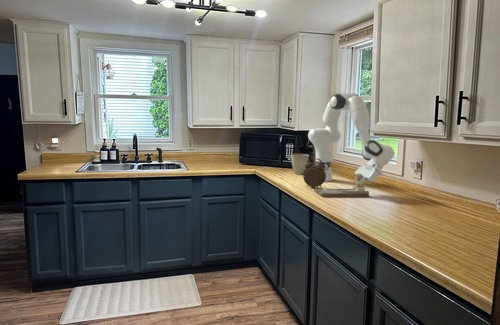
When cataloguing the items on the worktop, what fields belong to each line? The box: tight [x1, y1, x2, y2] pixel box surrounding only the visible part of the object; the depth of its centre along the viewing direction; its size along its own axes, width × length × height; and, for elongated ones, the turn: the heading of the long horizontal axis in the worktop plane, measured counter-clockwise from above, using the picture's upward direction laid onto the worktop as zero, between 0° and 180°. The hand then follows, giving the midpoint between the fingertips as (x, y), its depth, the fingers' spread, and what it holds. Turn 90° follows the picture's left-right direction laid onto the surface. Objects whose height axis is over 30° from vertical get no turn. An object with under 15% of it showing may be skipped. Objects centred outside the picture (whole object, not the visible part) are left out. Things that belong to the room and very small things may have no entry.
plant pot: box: [290, 153, 310, 175], centre depth 289 cm, size 15×15×16 cm
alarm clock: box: [302, 157, 326, 189], centre depth 234 cm, size 15×7×20 cm, turn 53°
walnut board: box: [313, 188, 370, 198], centre depth 218 cm, size 14×30×4 cm, turn 99°
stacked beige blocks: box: [352, 173, 366, 191], centre depth 218 cm, size 6×5×11 cm
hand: (357, 182), depth 217 cm, fingers closed on stacked beige blocks, 3 cm apart
